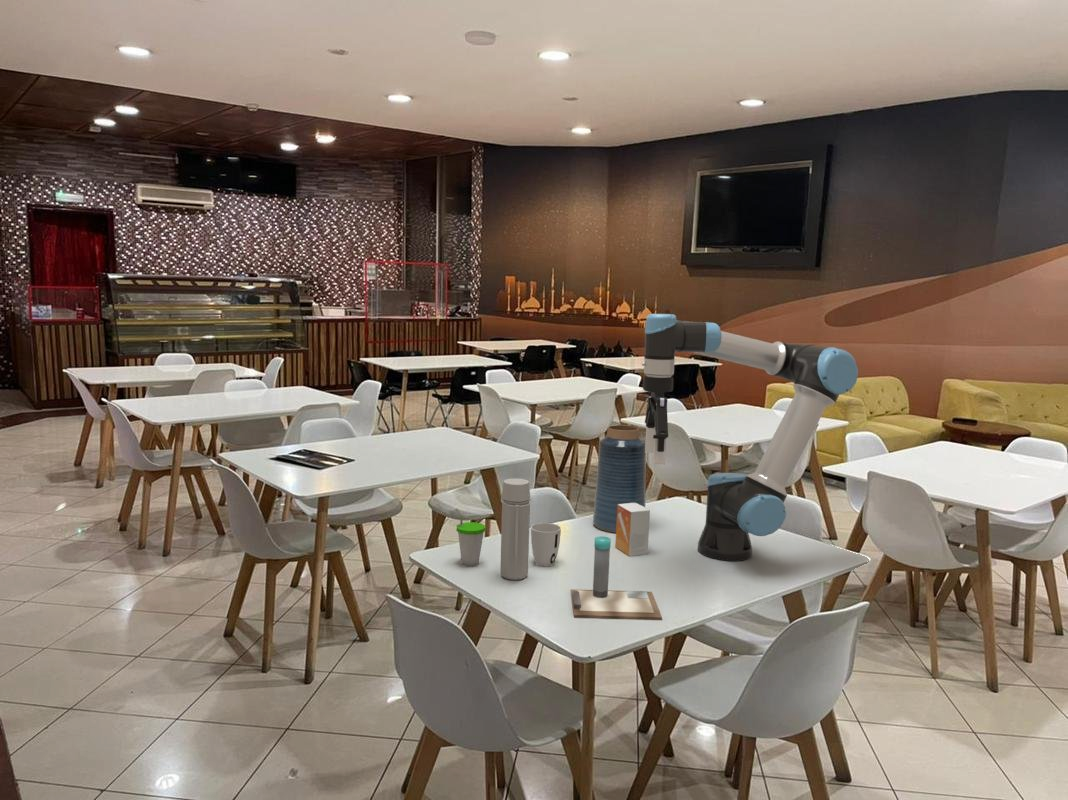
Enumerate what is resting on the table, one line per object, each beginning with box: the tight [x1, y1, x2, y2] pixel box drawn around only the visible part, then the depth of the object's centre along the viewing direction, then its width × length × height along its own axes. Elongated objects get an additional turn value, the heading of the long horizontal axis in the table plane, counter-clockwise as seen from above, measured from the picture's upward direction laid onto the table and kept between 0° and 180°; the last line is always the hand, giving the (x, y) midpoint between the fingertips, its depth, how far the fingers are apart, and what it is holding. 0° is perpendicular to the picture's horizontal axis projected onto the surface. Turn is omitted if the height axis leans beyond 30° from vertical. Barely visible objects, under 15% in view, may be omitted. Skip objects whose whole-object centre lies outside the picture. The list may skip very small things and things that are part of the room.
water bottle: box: [499, 477, 533, 581], centre depth 197 cm, size 9×8×25 cm
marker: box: [592, 536, 612, 598], centre depth 186 cm, size 4×4×14 cm
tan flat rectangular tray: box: [570, 588, 663, 621], centre depth 183 cm, size 20×15×2 cm
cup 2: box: [530, 522, 562, 567], centre depth 209 cm, size 8×8×10 cm
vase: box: [592, 424, 647, 534], centre depth 242 cm, size 16×16×32 cm
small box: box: [614, 503, 651, 557], centre depth 221 cm, size 8×6×13 cm
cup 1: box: [455, 507, 486, 568], centre depth 206 cm, size 8×8×15 cm
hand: (654, 458), depth 198 cm, fingers open, 13 cm apart
